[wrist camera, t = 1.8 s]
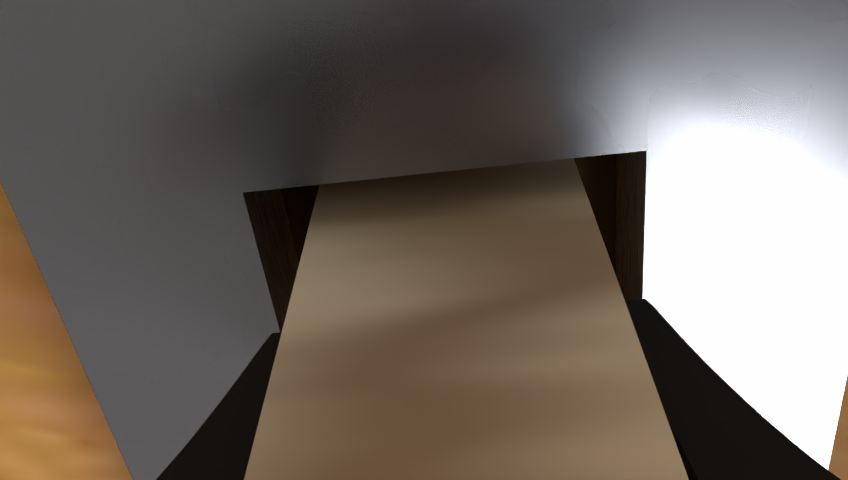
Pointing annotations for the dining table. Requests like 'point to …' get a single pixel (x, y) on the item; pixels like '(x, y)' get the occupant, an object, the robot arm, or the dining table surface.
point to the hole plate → (424, 170)
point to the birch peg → (460, 339)
